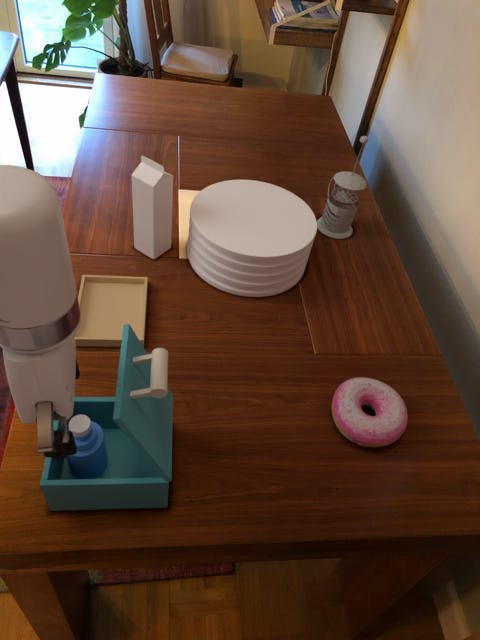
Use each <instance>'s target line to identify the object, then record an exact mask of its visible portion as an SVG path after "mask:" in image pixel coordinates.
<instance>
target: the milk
mask: <svg viewBox="0 0 480 640" xmlns="http://www.w3.org/2000/svg"><path fill="white" fill-rule="evenodd" d="M173 195H174V175H172V174H171V173H169V172H167V171H165V167H164V166H163V165H162V164H161V163H158V162H156V161H155V160H153V159H150V158H148V157H147V156H145V155H141V156H140V163H139V164H138V166H136V168H135V169H134V171H133V172H132V173H131V198H132V221H133V222H132V223H133V246H134V249H136V250H137V251H138V252H140V253H142V254H144V255H145V256H146V257H149V258H150V259H152V260H156V259H157V258H159V257H160V256H161V255H163V254H164V253H166V252H167V251H169V250H170V249H171V248H172V234H173V233H172V230H173V200H174V199H173V197H174V196H173Z"/></svg>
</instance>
